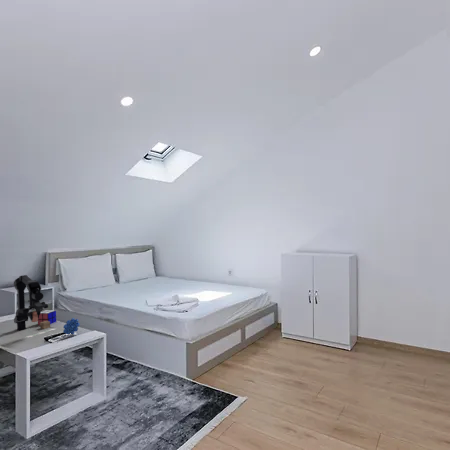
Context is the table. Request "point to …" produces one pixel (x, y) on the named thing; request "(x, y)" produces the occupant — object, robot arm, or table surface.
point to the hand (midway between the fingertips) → (34, 319)
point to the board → (40, 333)
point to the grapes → (71, 326)
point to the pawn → (34, 316)
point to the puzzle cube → (47, 316)
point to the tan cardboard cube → (45, 324)
